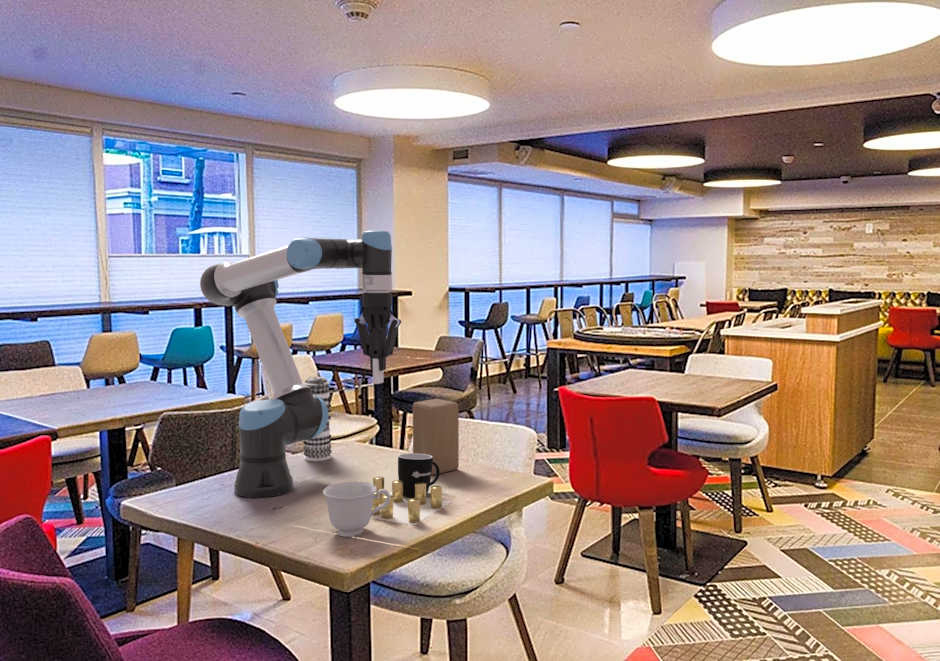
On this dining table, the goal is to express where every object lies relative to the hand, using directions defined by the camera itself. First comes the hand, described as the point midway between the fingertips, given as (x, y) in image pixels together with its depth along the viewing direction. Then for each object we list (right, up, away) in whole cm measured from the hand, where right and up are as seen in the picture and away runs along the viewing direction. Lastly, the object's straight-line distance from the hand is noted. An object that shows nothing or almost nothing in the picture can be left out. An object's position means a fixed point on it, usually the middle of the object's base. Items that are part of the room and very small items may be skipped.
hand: (378, 382), depth 196 cm
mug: (+10, -29, +1) cm, 31 cm away
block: (+14, -27, +26) cm, 40 cm away
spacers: (+6, -30, -10) cm, 32 cm away
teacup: (-2, -32, -25) cm, 41 cm away
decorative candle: (-24, -26, +39) cm, 53 cm away
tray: (+5, -30, -8) cm, 32 cm away
